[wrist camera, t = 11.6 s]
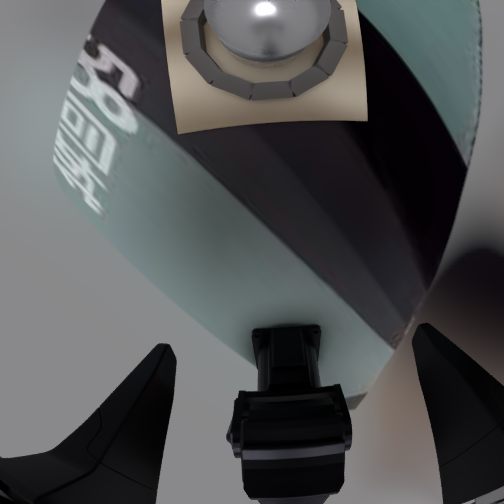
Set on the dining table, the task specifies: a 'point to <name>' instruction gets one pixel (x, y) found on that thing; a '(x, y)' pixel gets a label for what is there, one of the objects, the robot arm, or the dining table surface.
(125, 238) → the dining table surface
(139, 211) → the dining table surface
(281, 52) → the cylinder
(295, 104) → the ring seat
